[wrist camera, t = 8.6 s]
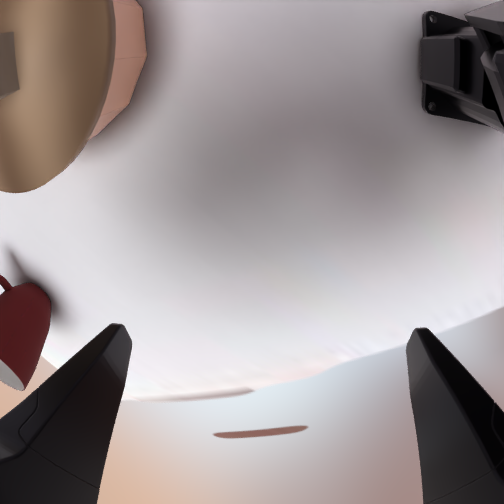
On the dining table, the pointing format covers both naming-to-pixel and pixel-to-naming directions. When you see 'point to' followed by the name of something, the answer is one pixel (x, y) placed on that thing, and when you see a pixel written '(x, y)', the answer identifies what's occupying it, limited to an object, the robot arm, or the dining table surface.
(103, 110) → the bowl
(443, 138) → the dining table surface
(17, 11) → the lid
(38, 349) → the mug
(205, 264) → the dining table surface
